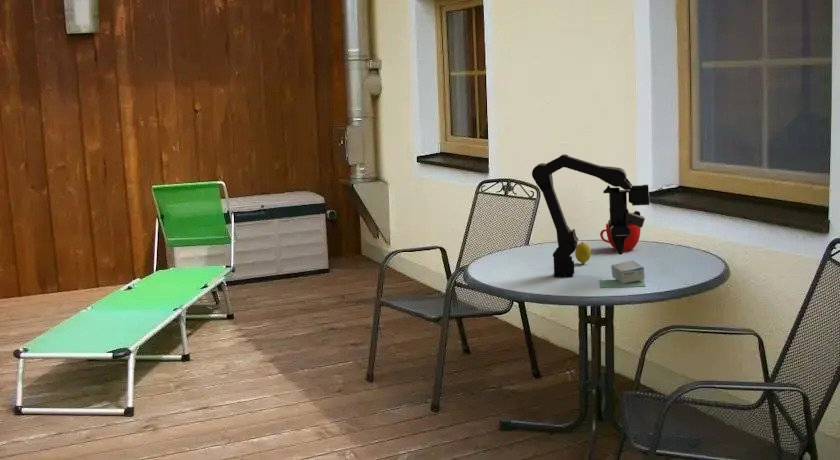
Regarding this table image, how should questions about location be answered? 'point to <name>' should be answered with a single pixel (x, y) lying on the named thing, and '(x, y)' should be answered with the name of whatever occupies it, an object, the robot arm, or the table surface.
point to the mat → (618, 284)
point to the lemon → (582, 252)
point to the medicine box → (628, 272)
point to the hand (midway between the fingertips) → (619, 251)
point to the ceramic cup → (629, 241)
